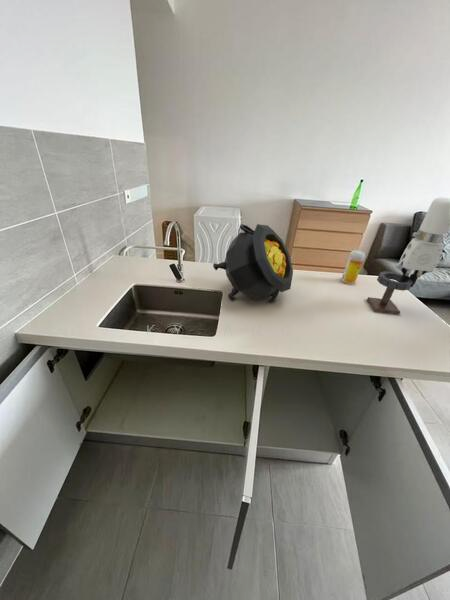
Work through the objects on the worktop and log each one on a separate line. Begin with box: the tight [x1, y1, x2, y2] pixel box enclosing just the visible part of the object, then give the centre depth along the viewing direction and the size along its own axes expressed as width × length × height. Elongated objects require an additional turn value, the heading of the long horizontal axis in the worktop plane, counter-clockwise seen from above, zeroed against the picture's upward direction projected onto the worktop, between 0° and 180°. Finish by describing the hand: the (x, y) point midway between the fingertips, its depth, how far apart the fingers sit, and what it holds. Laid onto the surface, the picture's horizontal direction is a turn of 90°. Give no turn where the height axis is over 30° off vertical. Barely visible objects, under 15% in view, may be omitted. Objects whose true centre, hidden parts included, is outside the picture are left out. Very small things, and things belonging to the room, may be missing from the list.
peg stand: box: [366, 287, 401, 316], centre depth 96 cm, size 9×9×10 cm
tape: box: [376, 270, 413, 291], centre depth 92 cm, size 11×11×2 cm
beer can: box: [341, 249, 366, 285], centre depth 113 cm, size 6×6×15 cm
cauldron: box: [212, 223, 294, 303], centre depth 95 cm, size 28×28×24 cm
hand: (405, 284), depth 92 cm, fingers closed on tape, 1 cm apart
